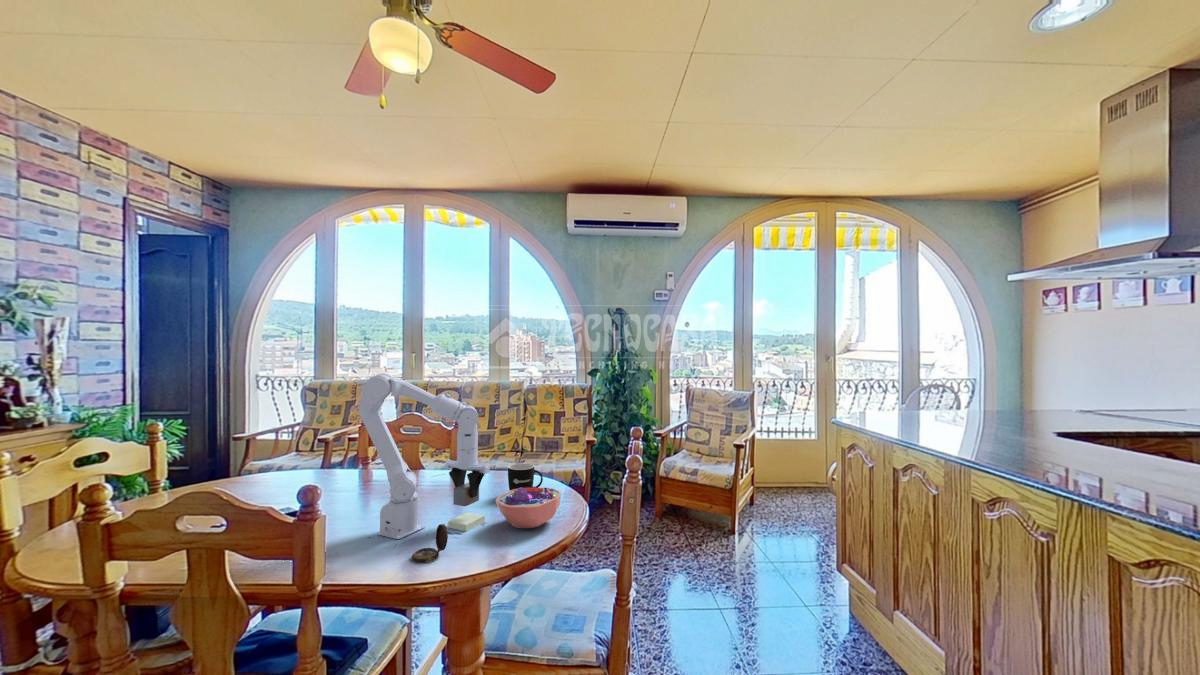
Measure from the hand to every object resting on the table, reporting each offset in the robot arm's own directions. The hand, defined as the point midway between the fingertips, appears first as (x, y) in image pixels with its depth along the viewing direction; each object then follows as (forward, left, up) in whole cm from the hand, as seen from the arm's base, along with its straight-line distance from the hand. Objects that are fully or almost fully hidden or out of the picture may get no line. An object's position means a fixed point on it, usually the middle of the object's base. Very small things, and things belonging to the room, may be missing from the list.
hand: (466, 495), depth 140 cm
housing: (0, 0, -2) cm, 2 cm away
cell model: (+8, -16, -9) cm, 20 cm away
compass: (-21, -6, -9) cm, 24 cm away
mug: (+30, 0, -8) cm, 31 cm away
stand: (0, 0, -8) cm, 8 cm away
